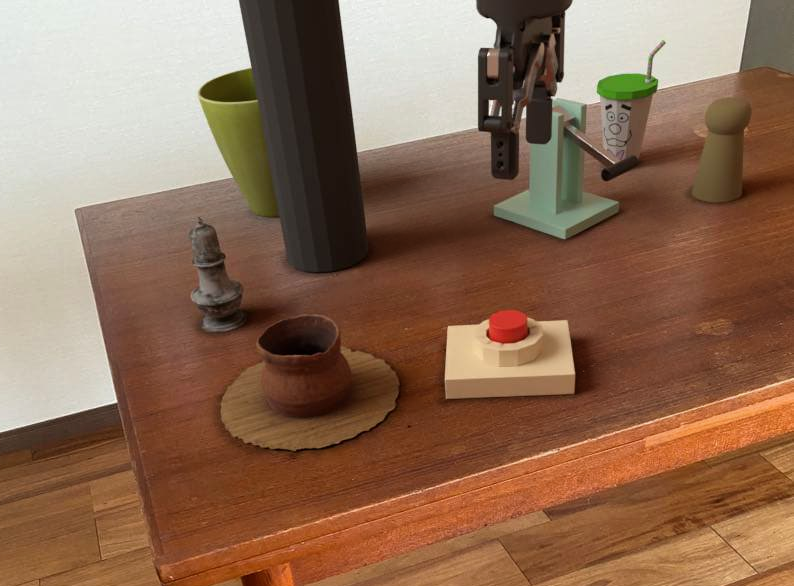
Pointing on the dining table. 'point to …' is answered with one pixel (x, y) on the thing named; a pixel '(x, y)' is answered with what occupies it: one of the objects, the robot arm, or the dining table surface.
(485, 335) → the button block
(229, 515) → the dining table surface
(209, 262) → the salt shaker
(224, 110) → the flower pot
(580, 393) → the dining table surface
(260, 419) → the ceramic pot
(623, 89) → the cup
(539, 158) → the bracket
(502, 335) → the button
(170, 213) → the dining table surface
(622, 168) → the lever
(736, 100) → the olive pawn
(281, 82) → the dark grey column
